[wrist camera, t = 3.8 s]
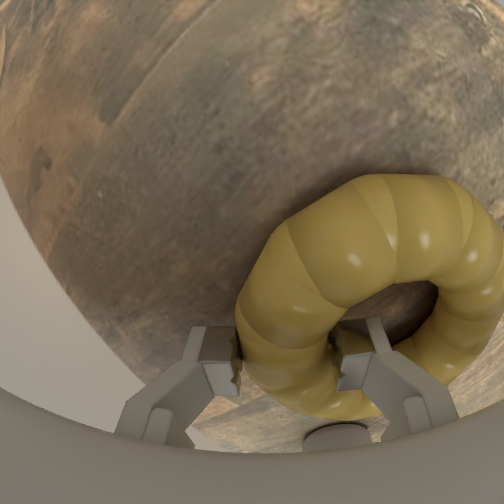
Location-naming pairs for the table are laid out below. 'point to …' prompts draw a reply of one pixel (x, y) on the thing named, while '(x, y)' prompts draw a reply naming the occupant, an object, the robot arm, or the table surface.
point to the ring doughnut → (370, 285)
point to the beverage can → (336, 438)
